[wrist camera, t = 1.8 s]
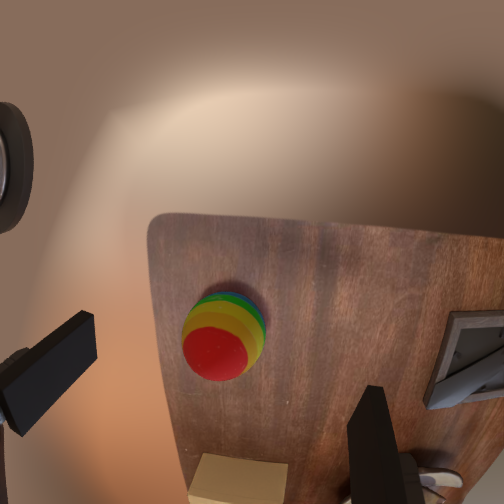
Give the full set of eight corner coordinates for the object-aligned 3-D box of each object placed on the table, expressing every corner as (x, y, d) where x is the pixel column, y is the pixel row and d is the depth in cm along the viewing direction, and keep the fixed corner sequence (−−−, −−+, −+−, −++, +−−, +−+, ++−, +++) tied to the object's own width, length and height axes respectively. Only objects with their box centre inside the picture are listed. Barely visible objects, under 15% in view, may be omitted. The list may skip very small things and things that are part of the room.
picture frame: (422, 400, 35) (518, 386, 32) (426, 409, 33) (524, 393, 30) (450, 311, 31) (549, 307, 28) (456, 319, 29) (556, 313, 26)
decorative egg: (206, 271, 34) (170, 313, 25) (279, 296, 34) (268, 348, 24) (191, 332, 37) (157, 383, 27) (257, 356, 36) (240, 414, 27)
